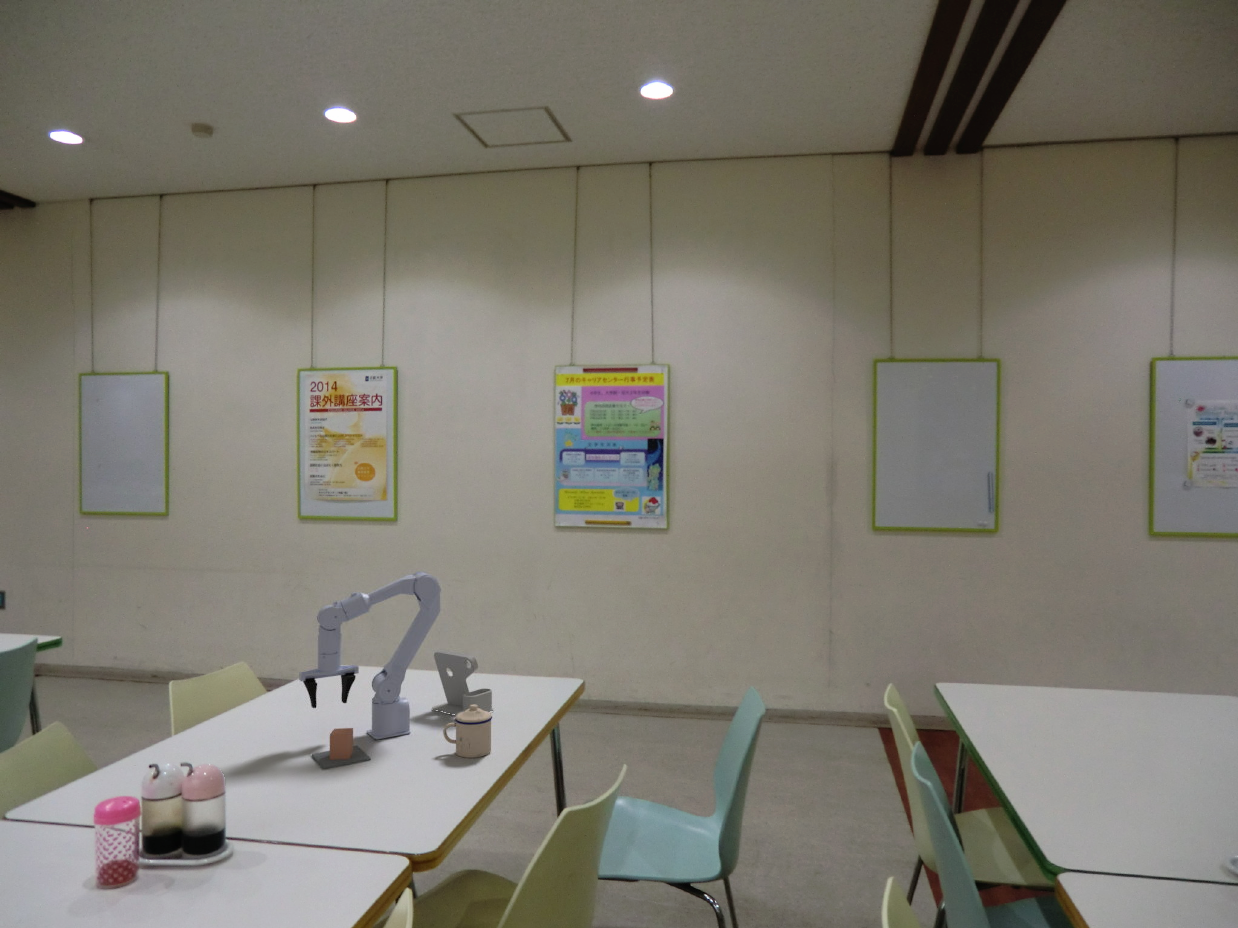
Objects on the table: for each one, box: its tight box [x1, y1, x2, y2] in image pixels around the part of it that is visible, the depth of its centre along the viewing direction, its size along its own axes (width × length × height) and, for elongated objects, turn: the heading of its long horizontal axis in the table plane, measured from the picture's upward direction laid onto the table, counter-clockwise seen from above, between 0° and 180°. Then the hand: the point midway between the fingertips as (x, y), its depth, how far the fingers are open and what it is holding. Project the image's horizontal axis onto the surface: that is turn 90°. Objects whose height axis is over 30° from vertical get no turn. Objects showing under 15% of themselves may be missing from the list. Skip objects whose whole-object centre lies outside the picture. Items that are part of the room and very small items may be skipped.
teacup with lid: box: [442, 704, 493, 759], centre depth 195 cm, size 12×9×12 cm
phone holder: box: [431, 648, 494, 715], centre depth 230 cm, size 17×10×18 cm, turn 55°
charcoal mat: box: [311, 745, 371, 770], centre depth 190 cm, size 11×11×1 cm
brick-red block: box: [329, 727, 354, 760], centre depth 191 cm, size 4×4×6 cm
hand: (329, 704), depth 203 cm, fingers open, 7 cm apart
